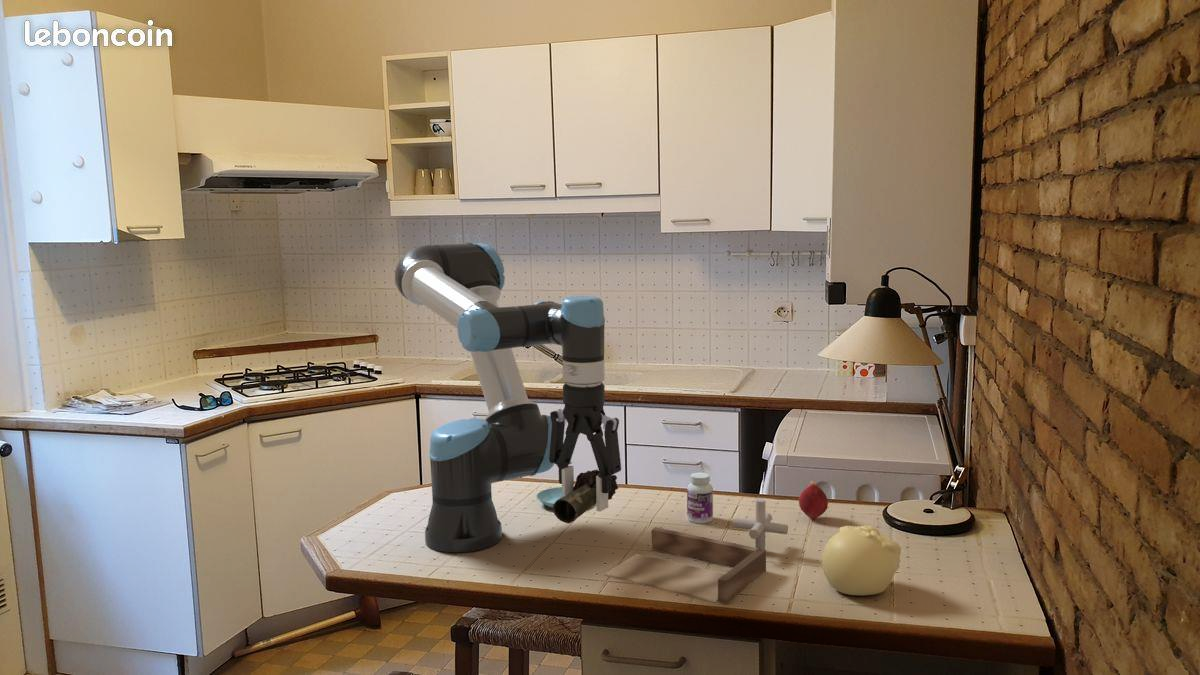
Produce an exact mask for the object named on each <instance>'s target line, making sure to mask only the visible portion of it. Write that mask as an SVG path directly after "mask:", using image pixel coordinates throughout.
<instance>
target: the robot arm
mask: <svg viewBox="0 0 1200 675" xmlns="http://www.w3.org/2000/svg"><path fill="white" fill-rule="evenodd" d="M396 265H397V266H396V268H395V272H394V282H395V286H396V288H397V290H398V292H399V293H400V294H401V296H403V297H404V298H405V299H406V300H407V301H409V302H410V303H412V304H414V305H418V306H425V307H426V308H427V309H429V310H430V311H432V312H433V313H434V314H436V315H437V316H439V317H440V318H442V319H443V320H445V321H446V322H447V323H449V324H450V325H451V326H453V327H454V328H456V329H457V331H456V332H457V336H458V340H459V342H460V343H461V346H462V348H463V349H464V350H466V351H467V352H470V354H471V355H470V356H471V358H472V361H473V365H474V368H475V370H476V374H477V377H478V381H479V384H480V387H481V391H482V393H483V397H484V401H485V404H486V407H487V410H488V414H487V415H486V417H485V419H482V418H475V417H474V418H469V419H466V418H465V419H464V418H463V419H458V420H455V421H454V420H453V421H450V422H448V423H445V424H441V425H440V426H439V427H437V428H435V430H433V431H432V433H431V435H430V437H429V438H430V440H429V441H430V442H429V454H428V457H429V461H430V463H429V464H430V476H431V479H430V480H431V496H432V497H431V498H432V499H431V500H432V505H431V508H430V513H429V516H428V521H427V522H428V523H427V525H426V527H425V530H424V537H425V538H424V540H425V546H427V547H429V548H430V549H432V550H434V551H435V550H436V551H438V552H444V553H445V552H446V553H467V552H474V551H480V550H484V549H487V548H489V547H492V546H495V545H496V544H497V543H499V542H500V541H501V540H502V538H503V528H502V527H503V526H502V522H501V521H500V520H499V519H498V514H497V511H496V507H495V504H494V502H493V497H492V496H493V495H492V494H493V492H492V484H493V483H498V482H504V481H508V480H513V479H514V480H515V479H519V478H523V477H528V476H530V477H533V476H536V475H538V474H541V473H545V472H548V471H549V470H551V469H552V468H553V467H554V465H556V466H557V468H558V483H559V484H560V485H561V487H562V497H564V496H566V495H567V494H569V493H571V492H573V491H574V486H575V484H574V483H575V481H574V480H575V478H574V465H571V464H573V462H572V461H571V460H572V457H573V454H574V453H575V452H574V451H575V448H576V445H577V443H578V442H577V441H578V438H579V436H580V434H582V435H585V436H586V439H587V441H589V442H590V446H591V450H592V452H593V457H594V458H595V459H594V460H595V462H596V466H597V468H598V469H597V470H598V471H599V472H600V474H599V475H598V476H596V504H595V507H596V508H595V509H596V512H599V513H600V512H602V511H605V510H606V509H608V508H609V500H608V492H610V491H611V476H612V475H616V474H617V473H619V472H621V470H622V463H621V455H620V454H621V453H620V445H619V434H618V430H619V429H618V428H619V424H620V420H619V418H618V417H613V418H611V417H610V416H607V415H606V413H605V410H604V406H605V401H606V399H605V394H606V393H605V387H606V386H605V384H604V383H603V382H604V381H605V378H606V377H605V376H606V374H605V373H606V372H605V370H606V368H605V322H606V318H605V311H604V302H603V300H602V299H601V298H600V297H598V296H591V295H590V296H588V295H574V296H566V297H564V298H563V299H562V301H561V302H562V303H558V302H554V301H551V300H547V301H541V300H540V301H536V302H535V303H533V304H528V305H513V306H502V307H499V306H498V300H499V299H500V297H501V292H502V290H503V288H504V284H505V281H506V280H505V279H506V277H505V275H504V273H505V267H504V264H503V261H502V258H501V257H500V255H499V253H498V251H497V250H496V249H495V248H494V247H492V246H491V245H489V244H487V243H481V242H479V243H477V242H466V243H454V244H453V243H451V244H449V243H448V244H447V243H446V244H424V245H420V246H416V247H413V249H410V250H409V251H407V252H406V253H405V254H404V255H403V256H401V258H400V260H399V261H398V263H397V264H396ZM550 344H552V345H557V346H561V349H562V352H561V353H562V354H561V355H562V381H563V382H564V384H563V385H562V402H563V405H564V408H563V409H561V408H560V409H556V410H553V411H551V412H550V414H549V415H546V414H541V411H540V408H539V405H538V403H536V402H534V401H532V400H530V399H529V398H528V397H529V396H528V395H527V392H526V388H525V385H524V383H523V378H522V376H521V373H520V370H519V367H518V363H517V362H516V357H515V355H514V351H513V349H516V348H525V347H533V346H543V345H550ZM566 422H567V426H566V425H565V424H566ZM602 424H603V426H602ZM565 426H566V427H565ZM565 428H566V429H565ZM603 430H604V431H603Z"/></svg>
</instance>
